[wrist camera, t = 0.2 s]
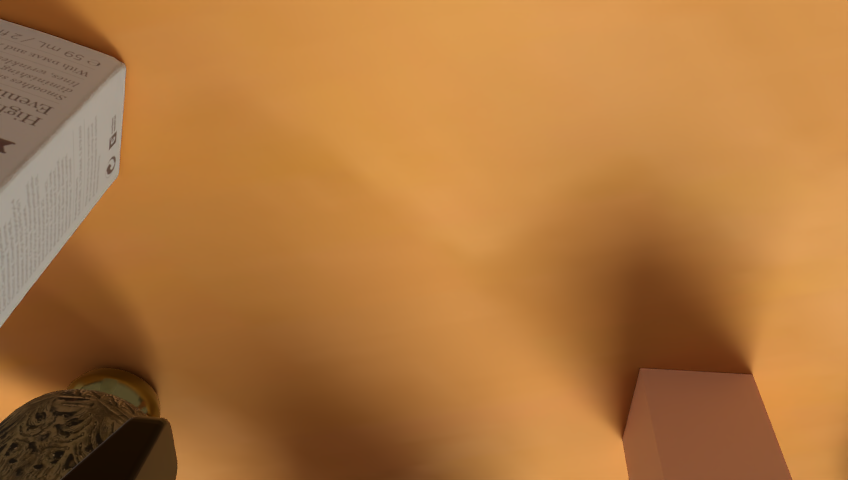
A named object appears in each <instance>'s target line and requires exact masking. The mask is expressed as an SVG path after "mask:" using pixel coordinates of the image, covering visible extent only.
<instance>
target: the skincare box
mask: <svg viewBox="0 0 848 480" xmlns="http://www.w3.org/2000/svg"><path fill="white" fill-rule="evenodd" d="M125 77H126V66H125V64H124V63H122V62H120V61H118V60H117V59H115V58H114V57H112V56H109V55H107V54H104V53H101V52H99V51H96V50H93V49H90V48H87V47H84V46H81V45H79V44H76V43H73V42H70V41H67V40H64V39H62V38H59V37H56V36H53V35H50V34H47V33H44V32H40V31H37V30H34V29H31V28H28V27H25V26H22V25H18V24H15V23H12V22H8V21H5V20H2V19H0V327H1V326H2V325H3V323H4V322H5V321H6V320H7V318H8V317H9V316H10V314H11V313H12V312H13V310H14V309H15V308H16V307H17V305H18V304H19V303H20V302H21V300H22V299H23V297H24V296H25V295H26V293H27V292H28V291H29V290H30V288H31V287H32V286H33V284H34V283H35V282H36V281H37V279H38V278H39V277H40V275H41V274H42V273H43V272H44V270H45V269H46V268H47V266H48V265H49V264H50V263H51V261H52V260H53V259H54V258H55V256H56V255H57V254H58V252H59V251H60V250H61V248H62V247H63V246H64V244H65V243H66V242H67V241H68V239H69V238H70V237H71V236H72V234H73V233H74V232H75V230H76V229H77V228H78V226H79V225H80V224H81V222H82V221H83V220H84V219H85V218H86V216H87V215H88V213H89V212H90V211H91V209H92V208H93V207H94V206H95V204H96V203H97V202H98V201H99V199H100V198H101V197H102V195H103V194H104V193H105V191H106V190H107V189H108V188H109V187H110V185H111V184H112V183H113V182H114V180H115V179H116V178H117V176H118V174H119V166H120V148H121V137H122V122H123V110H124V96H125Z"/></svg>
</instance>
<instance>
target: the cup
mask: <svg viewBox="0 0 848 480" xmlns="http://www.w3.org/2000/svg"><path fill="white" fill-rule="evenodd" d="M135 416H150V417H159V418H160V403H159V399H158V396H157V394H156V393H155V391H154V390H153V388H152V387H151V386H150V385H149V384H148V383H147V382H146V381H144V380H143V379H141V378H140V377H138V376H137V375H135V374H132V373H130V372H128V371H124V370H121V369H116V368H98V369H94V370H90V371H88V372H86V373H84V374H83V375H81V376H79V377H78V378H77V379H75V380H74V381H73V382H72V383H71V384H70V385H69V386H68V388H67V390H61V391H56V392H51V393H48V394H45V395H42V396H40V397H37V398H35V399H33V400H31V401H29V402H27V403H26V404H24V405H23V406H21V407H19V408H18V409H16V410H15V411H14V412H13V413H11V414H10V415H9V416H8V417H7V418H6V419H4V420H3V421H2V422H1V423H0V480H60V479H61V478H62V477H63V476H65V475H66V474H67V473H68V472H69V471H70V470H71V469H73V468H74V467H75V466H76V465H77V464H78V463H79V462H81V461H82V460H83V459H84V458H85V457H86V456H87V455H89V454H90V453H91V452H92V451H93V450H94V449H95V448H97V447H98V446H99V445H100V444H101V443H102V442H104V441H105V440H106V439H107V438H108V437H109V436H110V435H112V434H113V433H114V432H115V431H116V430H117V429H118V428H120V427H121V426H122V425H123V424H124V423H125V422H126V421H128V420H129V419H130V418H132V417H135Z"/></svg>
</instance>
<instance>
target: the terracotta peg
mask: <svg viewBox="0 0 848 480" xmlns="http://www.w3.org/2000/svg"><path fill="white" fill-rule="evenodd" d="M622 441H623V447H624V453H625V458H626V464H627V470H628V476H629V480H792V478H791V475H790V473H789V470H788V467H787V465H786V462H785V459H784V457H783V454H782V451H781V449H780V446H779V443H778V441H777V438H776V435H775V433H774V430H773V428H772V425H771V422H770V420H769V417H768V414H767V412H766V409H765V406H764V404H763V401H762V398H761V396H760V393H759V390H758V388H757V385H756V382H755V380H754V377H753V375H752V374H735V373H718V372H701V371H683V370H666V369H648V368H640V371H639V375H638V379H637V383H636V387H635V391H634V395H633V399H632V403H631V407H630V411H629V415H628V419H627V423H626V427H625V431H624V435H623V439H622Z"/></svg>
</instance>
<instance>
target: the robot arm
mask: <svg viewBox="0 0 848 480" xmlns="http://www.w3.org/2000/svg"><path fill="white" fill-rule="evenodd" d="M176 475H177V457H176V451H175V446H174V440H173V434H172V429H171V425H170V423H169V421H168V420H167V419H165V418H159V417H150V416H135V417H132V418H130V419H129V420H128V421H126V422H125V423H124V424H123V425H122V426H121V427H120V428H118V429H117V430H116V431H115V432H114V433H113V434H112V435H110V436H109V437H108V438H107V439H106V440H105V441H104V442H102V443H101V444H100V445H99V446H98V447H97V448H95V449H94V450H93V451H92V452H91V453H90V454H89V455H87V456H86V457H85V458H84V459H83V460H82V461H81V462H79V463H78V464H77V465H76V466H75V467H74V468H73V469H71V470H70V471H69V472H68V473H67V474H66V475H65V476H63V477H62V478H61V479H60V480H176Z"/></svg>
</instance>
